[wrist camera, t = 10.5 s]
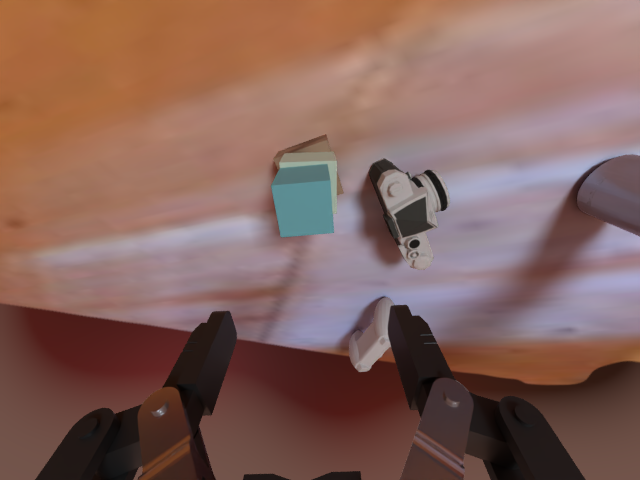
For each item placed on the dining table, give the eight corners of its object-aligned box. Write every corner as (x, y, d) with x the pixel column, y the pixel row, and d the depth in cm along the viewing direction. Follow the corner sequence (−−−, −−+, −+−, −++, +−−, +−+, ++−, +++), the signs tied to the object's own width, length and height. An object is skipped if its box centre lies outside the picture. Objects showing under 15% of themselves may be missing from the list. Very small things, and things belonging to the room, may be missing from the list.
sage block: (333, 151, 30) (336, 160, 25) (333, 198, 33) (336, 213, 28) (284, 153, 30) (279, 162, 25) (288, 200, 33) (284, 215, 28)
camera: (443, 230, 41) (477, 265, 32) (394, 250, 43) (414, 288, 34) (418, 139, 34) (454, 153, 25) (360, 168, 36) (375, 190, 27)
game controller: (359, 339, 55) (367, 384, 46) (341, 333, 54) (346, 378, 45) (395, 294, 48) (413, 337, 39) (376, 287, 47) (390, 330, 38)
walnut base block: (326, 134, 33) (327, 139, 29) (340, 181, 37) (343, 193, 32) (278, 151, 34) (273, 159, 30) (296, 196, 38) (294, 208, 33)
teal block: (327, 163, 26) (330, 180, 20) (330, 208, 28) (333, 232, 23) (279, 167, 26) (270, 185, 20) (287, 211, 28) (280, 237, 23)
